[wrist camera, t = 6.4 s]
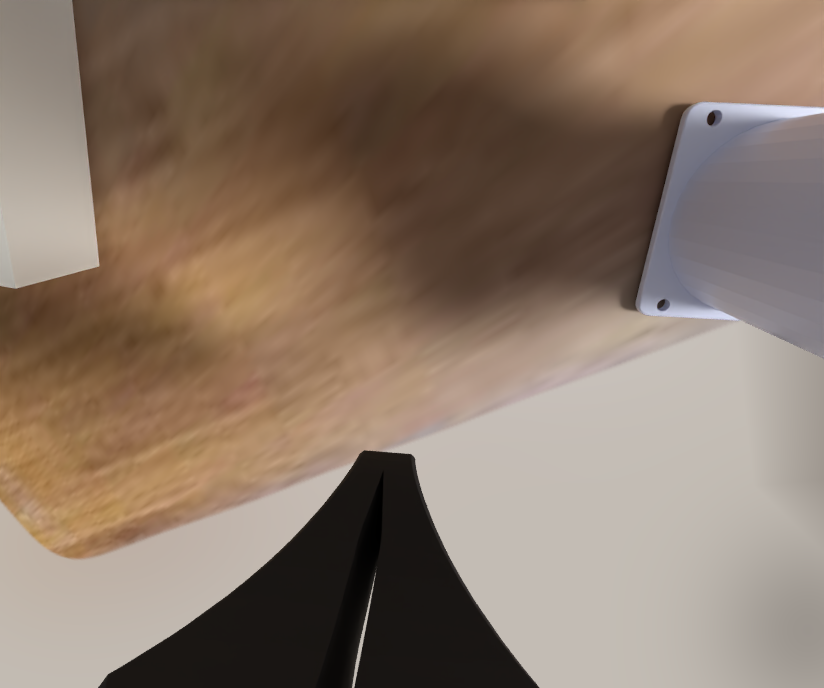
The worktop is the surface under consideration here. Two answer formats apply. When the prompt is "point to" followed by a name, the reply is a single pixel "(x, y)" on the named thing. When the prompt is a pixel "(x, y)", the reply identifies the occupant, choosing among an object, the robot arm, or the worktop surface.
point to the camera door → (42, 147)
